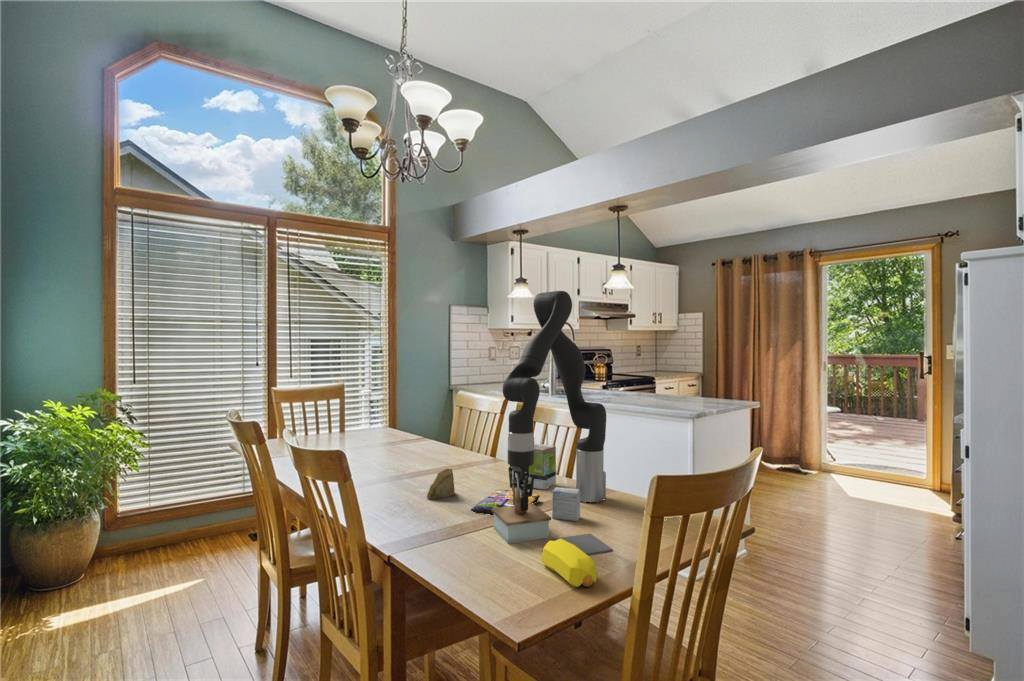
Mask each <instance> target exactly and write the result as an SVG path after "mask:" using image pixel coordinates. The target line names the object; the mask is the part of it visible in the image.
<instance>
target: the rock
mask: <svg viewBox="0 0 1024 681" xmlns="http://www.w3.org/2000/svg"><path fill="white" fill-rule="evenodd" d="M454 478H455V477H454V473H453V469H452V468H445V469H443V470H441V471H440V472H438V473H437V474H436V477H435V479H434V481H433V482H432V484H431V485H430V487H429V489H428V491H427V495H426V498H427V499H428V500H435V498H437V499H442V498H441V497H443V498H447V497H452V496H455V494H456V493H455V482H454V480H455V479H454Z"/></svg>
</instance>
